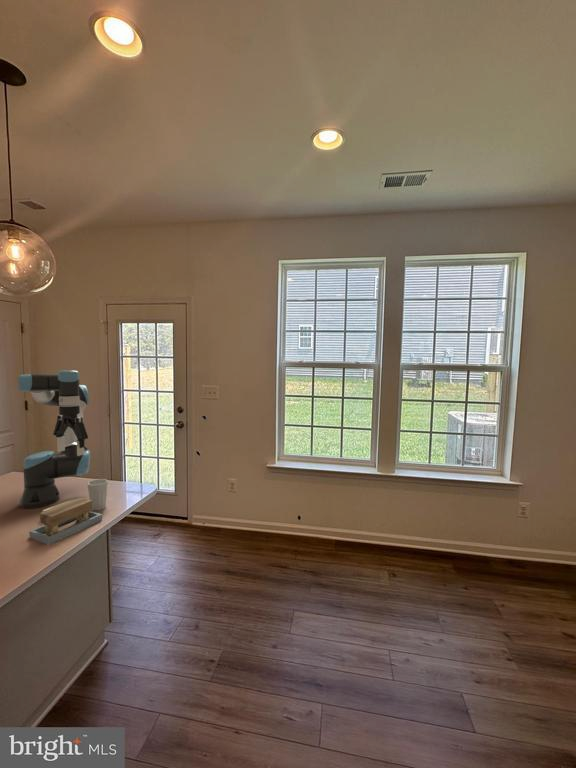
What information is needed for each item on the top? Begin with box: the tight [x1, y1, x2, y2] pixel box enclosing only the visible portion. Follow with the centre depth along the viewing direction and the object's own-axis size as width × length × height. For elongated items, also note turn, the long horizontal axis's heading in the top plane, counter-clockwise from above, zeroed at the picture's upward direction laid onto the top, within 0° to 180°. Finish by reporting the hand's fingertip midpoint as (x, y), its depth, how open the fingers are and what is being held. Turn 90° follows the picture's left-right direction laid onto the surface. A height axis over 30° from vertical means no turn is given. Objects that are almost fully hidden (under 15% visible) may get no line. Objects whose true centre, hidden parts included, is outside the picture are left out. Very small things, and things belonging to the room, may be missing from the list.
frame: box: [28, 510, 103, 546], centre depth 130 cm, size 12×21×5 cm, turn 156°
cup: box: [87, 478, 109, 511], centre depth 149 cm, size 8×8×12 cm
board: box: [39, 497, 93, 527], centre depth 130 cm, size 7×16×4 cm, turn 156°
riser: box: [42, 499, 74, 512], centre depth 142 cm, size 4×12×4 cm, turn 156°
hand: (70, 453), depth 143 cm, fingers open, 13 cm apart
